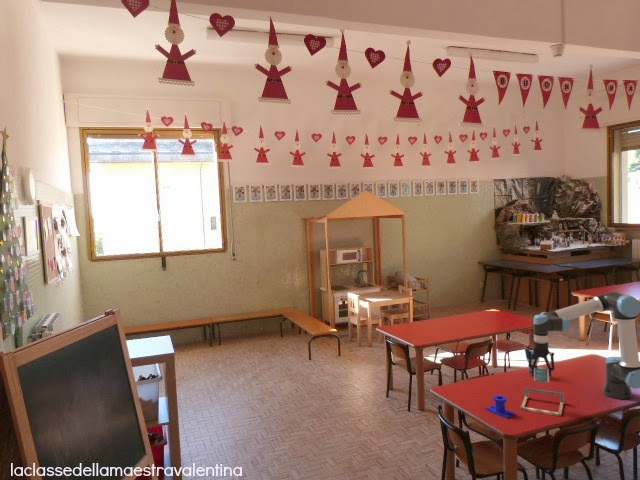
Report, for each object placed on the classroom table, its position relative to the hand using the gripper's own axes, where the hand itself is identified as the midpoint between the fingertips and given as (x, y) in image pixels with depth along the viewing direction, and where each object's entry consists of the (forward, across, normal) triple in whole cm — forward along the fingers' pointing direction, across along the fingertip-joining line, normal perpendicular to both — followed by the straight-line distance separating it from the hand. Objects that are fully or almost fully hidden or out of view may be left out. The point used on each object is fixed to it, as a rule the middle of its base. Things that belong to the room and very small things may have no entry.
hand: (541, 380), depth 277 cm
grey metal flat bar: (+16, 0, -10) cm, 19 cm away
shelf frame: (+16, 0, -1) cm, 16 cm away
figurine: (+16, +12, -53) cm, 57 cm away
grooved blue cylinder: (0, 0, 0) cm, 0 cm away
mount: (+16, +20, +18) cm, 31 cm away
